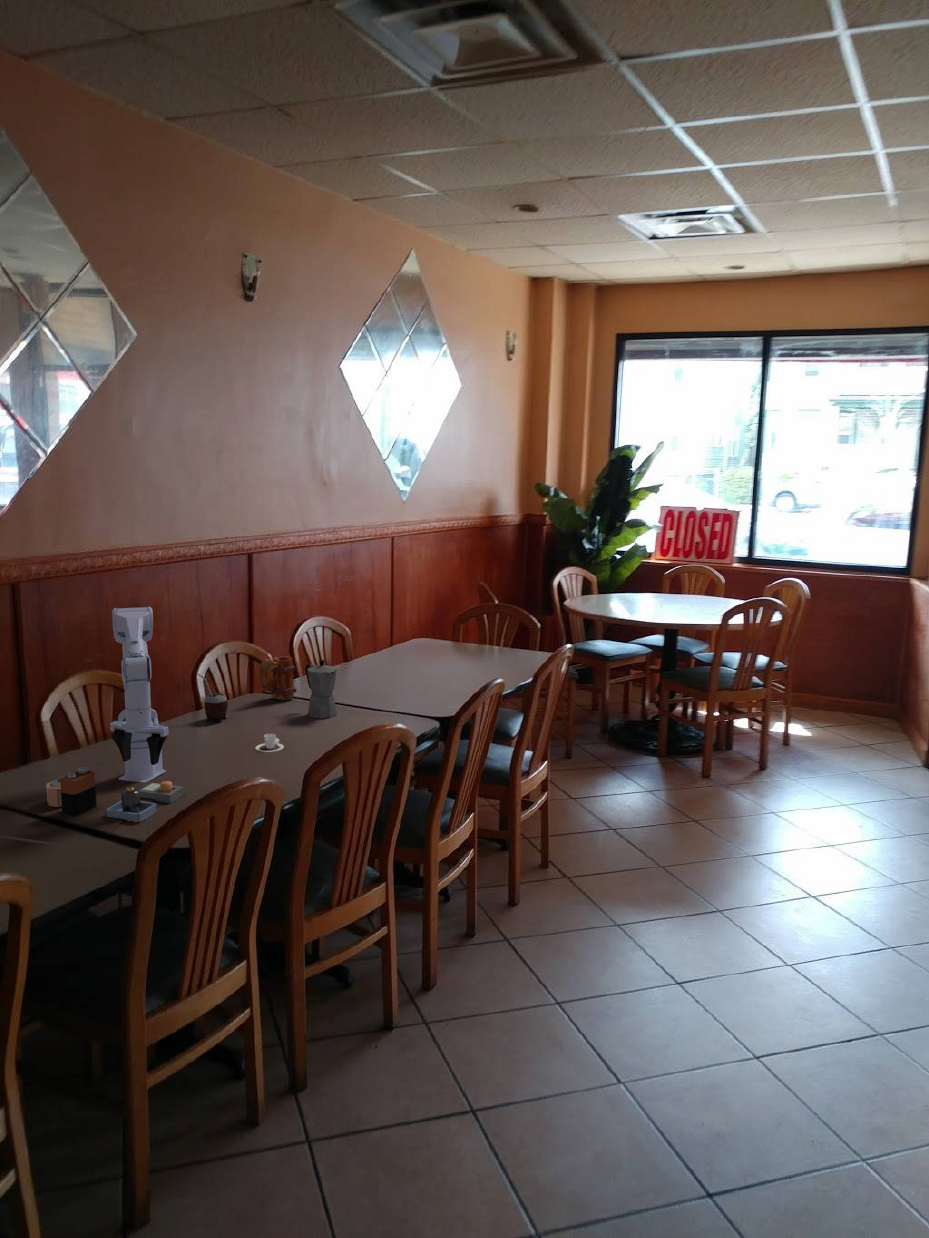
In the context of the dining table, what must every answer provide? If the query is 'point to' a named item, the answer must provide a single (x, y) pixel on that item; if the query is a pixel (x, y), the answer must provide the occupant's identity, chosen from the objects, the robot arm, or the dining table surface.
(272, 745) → the teacup and saucer
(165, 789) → the button
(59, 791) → the cup
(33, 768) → the dining table surface
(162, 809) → the dining table surface
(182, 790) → the base
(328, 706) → the coffeepot
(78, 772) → the battery
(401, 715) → the dining table surface
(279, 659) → the mug
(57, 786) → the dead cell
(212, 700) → the mate gourd
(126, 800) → the copper top cell
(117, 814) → the trough tray
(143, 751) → the robot arm
